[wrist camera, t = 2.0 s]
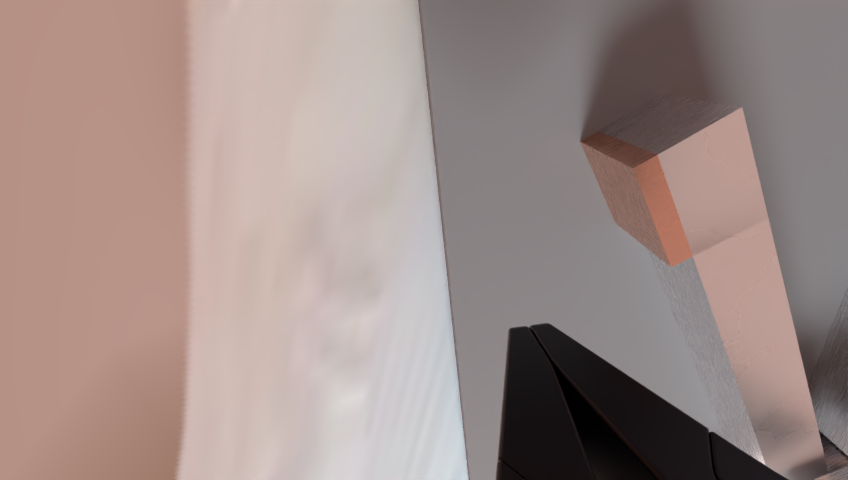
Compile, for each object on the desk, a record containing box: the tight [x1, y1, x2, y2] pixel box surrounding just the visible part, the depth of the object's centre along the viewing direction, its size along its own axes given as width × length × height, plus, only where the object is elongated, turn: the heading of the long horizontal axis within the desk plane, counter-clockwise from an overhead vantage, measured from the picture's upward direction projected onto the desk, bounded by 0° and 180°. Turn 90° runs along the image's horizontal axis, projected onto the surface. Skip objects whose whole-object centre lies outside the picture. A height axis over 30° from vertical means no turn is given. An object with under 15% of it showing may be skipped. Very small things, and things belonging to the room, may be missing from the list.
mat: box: [418, 0, 848, 480], centre depth 16 cm, size 22×20×1 cm
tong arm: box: [580, 93, 848, 480], centre depth 14 cm, size 21×6×4 cm, turn 31°
